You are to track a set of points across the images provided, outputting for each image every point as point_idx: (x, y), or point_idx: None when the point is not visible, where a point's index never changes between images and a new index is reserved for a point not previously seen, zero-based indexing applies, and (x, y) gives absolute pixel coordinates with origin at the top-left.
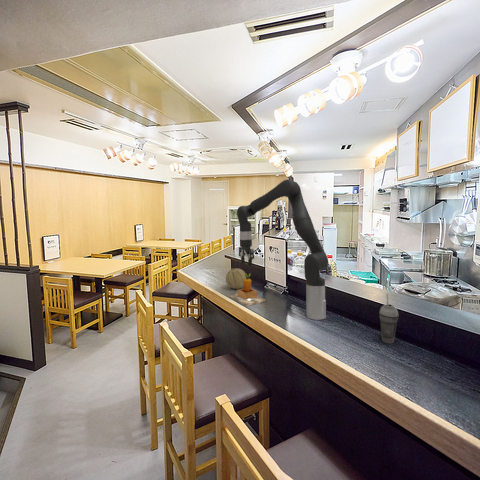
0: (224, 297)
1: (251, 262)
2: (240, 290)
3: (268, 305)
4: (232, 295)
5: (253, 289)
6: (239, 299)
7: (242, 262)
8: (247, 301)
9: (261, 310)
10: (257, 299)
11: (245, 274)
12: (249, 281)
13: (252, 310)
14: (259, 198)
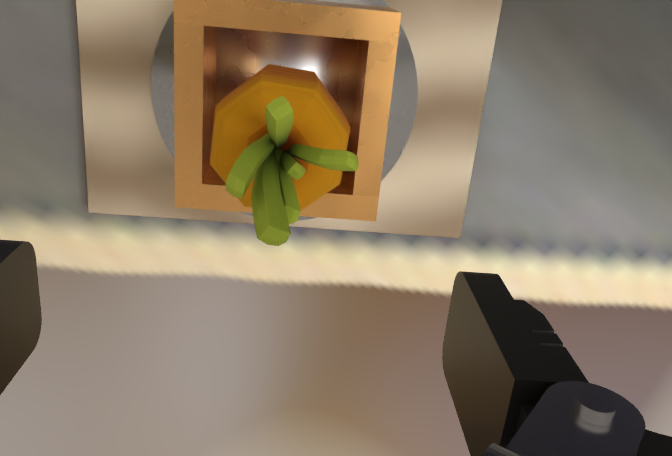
0: (68, 254)
1: (557, 360)
2: None
3: (613, 29)
4: (107, 190)
5: (303, 11)
6: (300, 217)
7: (21, 334)
8: (404, 178)
9: (653, 184)
10: (429, 42)
11: (282, 236)
12: (346, 148)
13: (587, 249)
14: None
